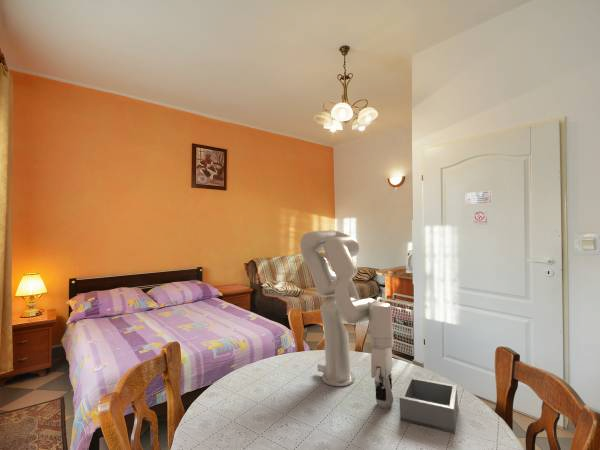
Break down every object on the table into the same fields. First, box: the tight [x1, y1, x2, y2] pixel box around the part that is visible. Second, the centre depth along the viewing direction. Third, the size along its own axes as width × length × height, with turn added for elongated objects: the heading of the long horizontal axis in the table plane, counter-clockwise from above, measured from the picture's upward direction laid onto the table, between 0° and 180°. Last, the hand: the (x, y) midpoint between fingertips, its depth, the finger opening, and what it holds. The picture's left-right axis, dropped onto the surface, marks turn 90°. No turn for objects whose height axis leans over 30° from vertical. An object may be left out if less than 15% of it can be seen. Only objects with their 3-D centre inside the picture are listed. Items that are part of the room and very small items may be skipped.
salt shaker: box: [375, 376, 394, 409], centre depth 108 cm, size 6×6×13 cm
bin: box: [399, 376, 459, 435], centre depth 102 cm, size 15×15×7 cm
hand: (384, 393), depth 108 cm, fingers open, 7 cm apart
